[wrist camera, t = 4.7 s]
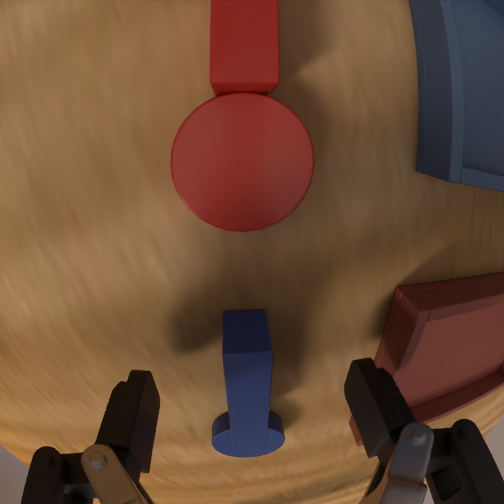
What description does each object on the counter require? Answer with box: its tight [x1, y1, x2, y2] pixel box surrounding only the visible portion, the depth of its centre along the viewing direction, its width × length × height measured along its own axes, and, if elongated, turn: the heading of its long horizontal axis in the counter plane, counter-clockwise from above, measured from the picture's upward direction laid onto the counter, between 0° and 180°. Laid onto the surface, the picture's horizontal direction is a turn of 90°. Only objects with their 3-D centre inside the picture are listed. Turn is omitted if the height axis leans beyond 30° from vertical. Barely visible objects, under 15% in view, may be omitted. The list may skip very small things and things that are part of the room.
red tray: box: [349, 272, 504, 446], centre depth 13 cm, size 15×10×2 cm
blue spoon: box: [212, 310, 285, 457], centre depth 12 cm, size 10×4×2 cm, turn 0°
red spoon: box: [171, 0, 315, 232], centre depth 6 cm, size 10×4×2 cm, turn 0°
